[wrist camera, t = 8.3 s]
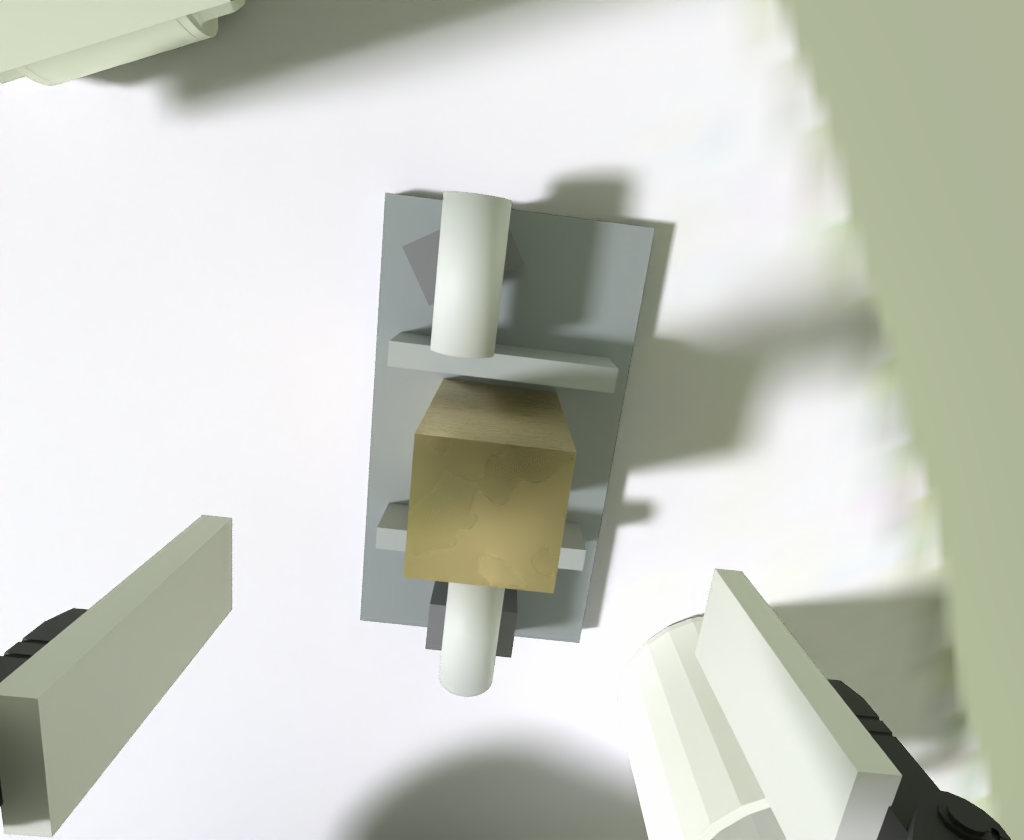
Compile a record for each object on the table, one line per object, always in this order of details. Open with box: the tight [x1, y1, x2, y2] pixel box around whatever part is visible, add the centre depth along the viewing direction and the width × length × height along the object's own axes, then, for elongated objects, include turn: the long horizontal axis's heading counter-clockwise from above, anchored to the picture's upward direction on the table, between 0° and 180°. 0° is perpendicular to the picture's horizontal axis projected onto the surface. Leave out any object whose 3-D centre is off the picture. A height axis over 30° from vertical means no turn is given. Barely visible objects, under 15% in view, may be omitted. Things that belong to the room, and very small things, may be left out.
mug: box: [617, 616, 787, 840], centre depth 27 cm, size 13×10×10 cm
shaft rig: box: [360, 191, 655, 697], centre depth 25 cm, size 20×11×5 cm, turn 173°
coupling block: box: [403, 379, 577, 593], centre depth 22 cm, size 5×5×8 cm
